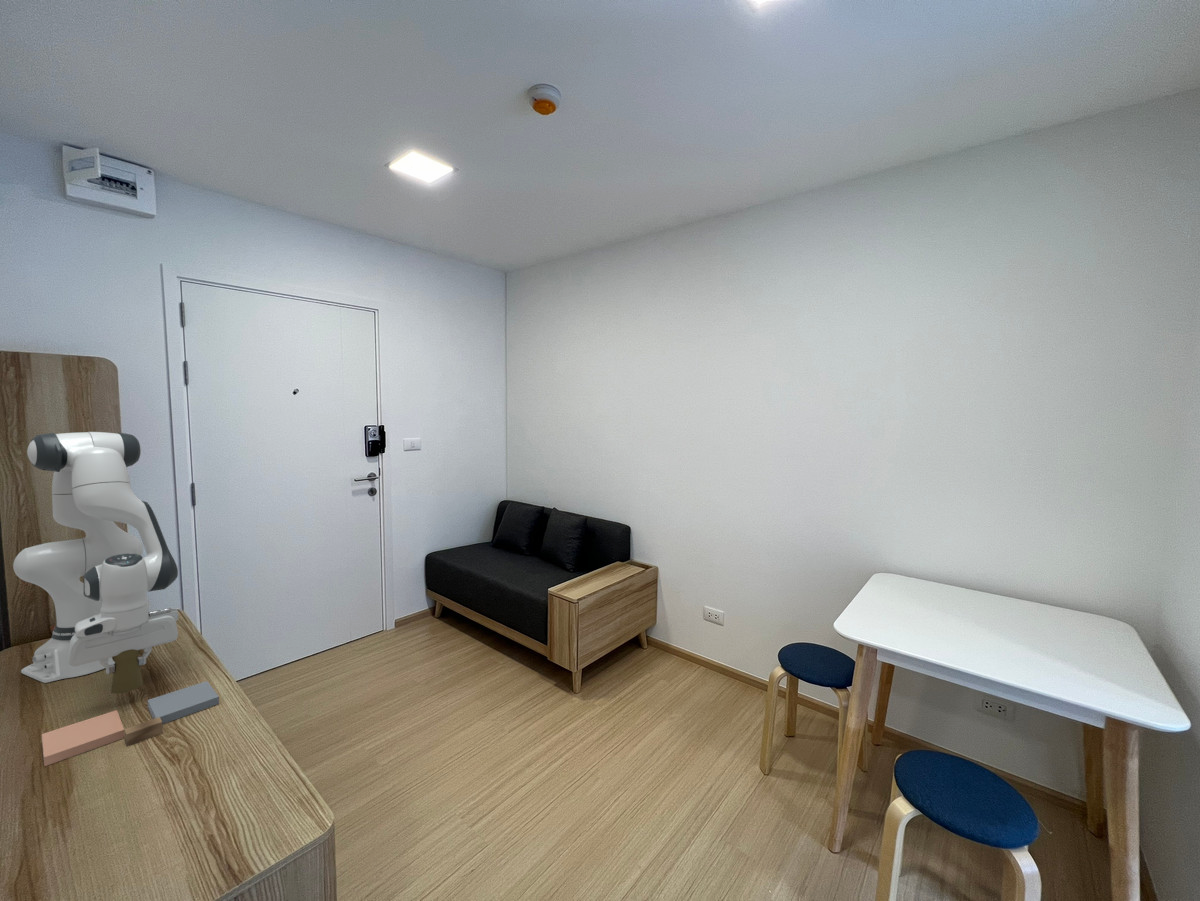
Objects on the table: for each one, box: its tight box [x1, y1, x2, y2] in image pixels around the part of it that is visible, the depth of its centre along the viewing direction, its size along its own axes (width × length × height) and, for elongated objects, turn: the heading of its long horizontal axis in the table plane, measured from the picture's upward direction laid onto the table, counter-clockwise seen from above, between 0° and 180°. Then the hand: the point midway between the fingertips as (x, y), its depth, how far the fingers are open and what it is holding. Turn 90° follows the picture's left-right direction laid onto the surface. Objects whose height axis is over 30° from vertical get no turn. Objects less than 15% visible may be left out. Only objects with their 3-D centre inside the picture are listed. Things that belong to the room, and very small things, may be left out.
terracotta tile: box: [41, 709, 125, 767], centre depth 108 cm, size 12×12×2 cm
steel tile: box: [147, 680, 220, 725], centre depth 121 cm, size 12×12×2 cm
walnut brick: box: [124, 717, 163, 747], centre depth 109 cm, size 6×3×3 cm, turn 142°
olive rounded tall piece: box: [110, 649, 144, 695], centre depth 123 cm, size 6×6×11 cm
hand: (126, 668), depth 122 cm, fingers open, 4 cm apart
